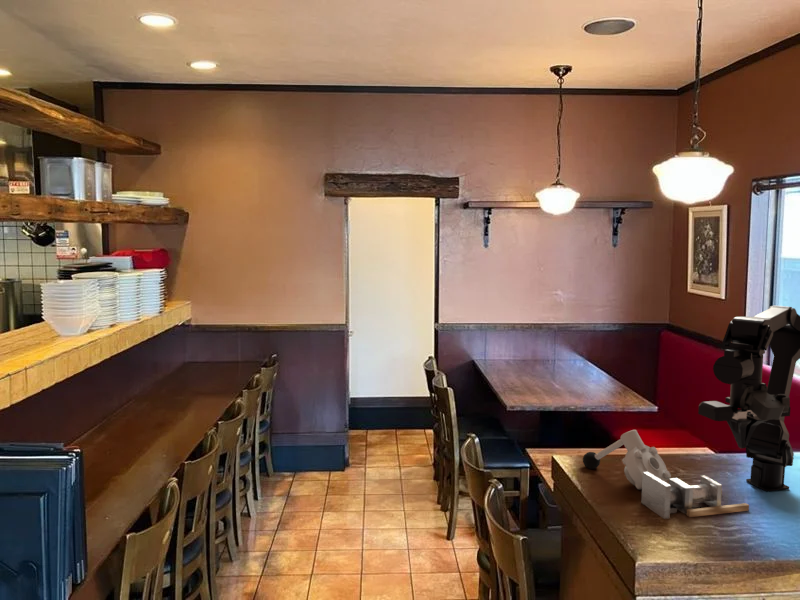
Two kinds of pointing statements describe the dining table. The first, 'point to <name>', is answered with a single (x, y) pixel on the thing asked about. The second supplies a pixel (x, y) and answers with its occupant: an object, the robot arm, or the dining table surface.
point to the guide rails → (717, 510)
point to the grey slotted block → (704, 492)
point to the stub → (664, 495)
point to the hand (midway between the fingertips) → (741, 447)
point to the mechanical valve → (633, 459)
